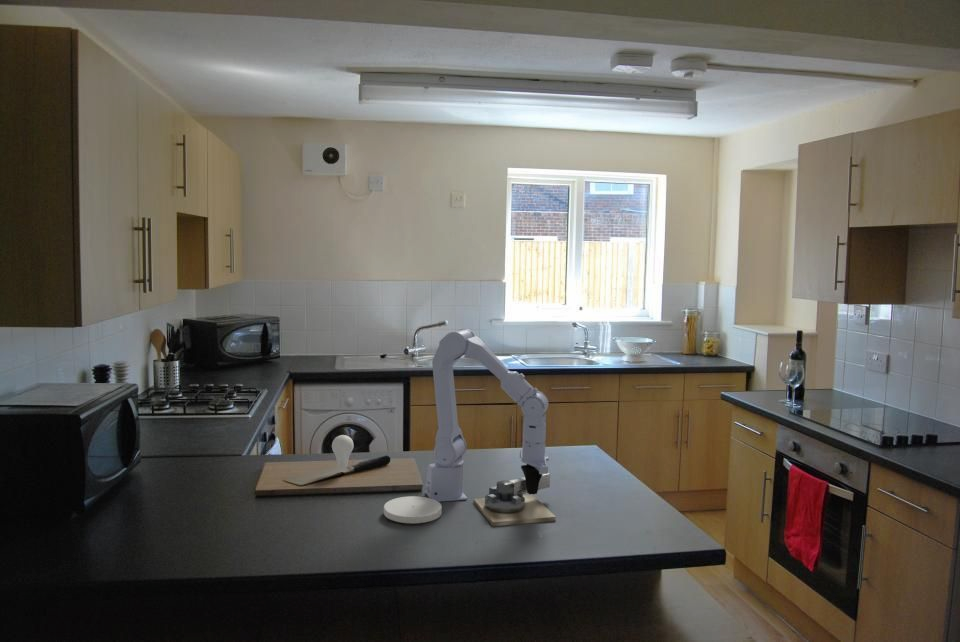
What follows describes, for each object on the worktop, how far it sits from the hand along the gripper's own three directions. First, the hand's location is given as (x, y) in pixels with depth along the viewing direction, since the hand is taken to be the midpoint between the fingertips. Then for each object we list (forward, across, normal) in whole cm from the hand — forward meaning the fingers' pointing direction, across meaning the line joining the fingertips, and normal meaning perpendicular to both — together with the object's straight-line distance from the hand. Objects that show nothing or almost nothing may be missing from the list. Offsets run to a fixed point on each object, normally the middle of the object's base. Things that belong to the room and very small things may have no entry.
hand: (532, 493), depth 178 cm
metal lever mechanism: (+2, +1, +3) cm, 4 cm away
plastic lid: (+4, +1, +30) cm, 31 cm away
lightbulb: (+4, +37, +44) cm, 57 cm away
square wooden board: (+4, -1, +6) cm, 7 cm away
